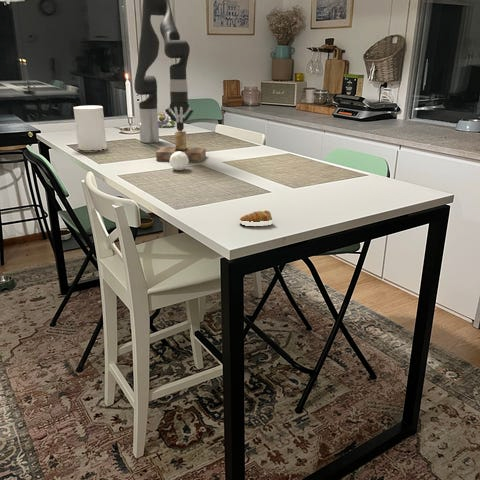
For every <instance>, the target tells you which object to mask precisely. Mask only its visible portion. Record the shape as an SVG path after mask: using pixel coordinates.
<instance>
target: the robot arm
mask: <svg viewBox="0 0 480 480" xmlns="http://www.w3.org/2000/svg"><path fill="white" fill-rule="evenodd" d="M141 10H142V12H141V14H142V16H141V31H140V36H139V37H140V39H139V45H138V46H139V47H138V60H137V67H136V72H135V78H134V84H133V85H134V92H135V94H136V95H138V96H139V95H140V96H145V95H148V97H147V98H145V100H143V101H140V102H139V103H138V107H139V109H138V110H139V121H140V123H139V124H138V125H139V126H138V127H139V129H138V130H139V140H140V143H145V144H148V143H149V144H151V143H152V144H154V143H159V142H160V133H159V126H158V113H159V112H158V81H157V79H156V77H155V76H154V75H146V74H147V71H148V70H149V69H150V68H151V66H152V65H153V64H154V62H155V61H156V59H157V58H158V55H159V50H160V39H159V37H158V35H157V33H156V31H155V30H154V27H153V25H152V22H151V21H152V19H151V16H163V18H162V19H161V22H160V24H159V32H160V34H161V37H162V40H163V42H164V43H163V44H164V49H163V51H164V52H163V53H164V54H165V56H166V57H167V58H169V59H179V61H178V62H177V63H174V64H171V65H169V92H170V93H169V94H170V95H169V96H170V98H169V99H170V102H169V103H170V104H169V107H167V108H166V109H165V110H164V111H165V113H166V114H168V115H169V117H170V118H171V119H172V120H173V121H174V123H175V124H176V130H177V131H184V128H185V125H184V123H185V122H186V121H188V120H189V118H190V117H191V115H192V114H193V113H194V112H195V109H193V108H191V107H190V104H189V97H188V95H189V94H188V90H189V89H188V80H187V79H188V78H187V67H188V60H189V56H190V52H191V51H190V50H191V48H190V44H189V42H188V41H187V40H183V39H182V40H181V37H180V33H179V31H178V28H177V26H176V23H175V21H174V17H173V13H172V8H171V4H170V0H142V9H141ZM172 112H173V113H172ZM186 112H187V114H186ZM174 114H175V115H174ZM185 114H186V116H185Z"/></svg>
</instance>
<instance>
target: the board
mask: <svg viewBox="0 0 480 480" xmlns="http://www.w3.org/2000/svg"><path fill="white" fill-rule="evenodd" d="M186 148H187V149H186V151H180V152H184V153H185V154H186V155H187V157H188V160H189V162H188V163H201V162H203V160H204V159H205V158H206V157H207V156H206V155H207V153H206V152H207V151H206V149H207V148H206V147H192V146H191V147H190V146H189V147H187V146H186ZM175 152H178V151H176V146H162V147H161V148H159V149H158V150H156V151H155V158H156V159H155V161H157V162H170V157H171V155H172V154H173V153H175Z"/></svg>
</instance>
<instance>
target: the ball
mask: <svg viewBox="0 0 480 480" xmlns="http://www.w3.org/2000/svg"><path fill="white" fill-rule="evenodd" d="M169 163H170V167H171V168H172V169H173V170H175V171H178V170H180V171H183V170H186V168H187V167H188V165H189V163H190V162H189V160H188V157H187V155H186V154H185V153H184V152H180V151H178V152H175V153H173V154H172V155H171V157H170V161H169Z"/></svg>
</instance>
